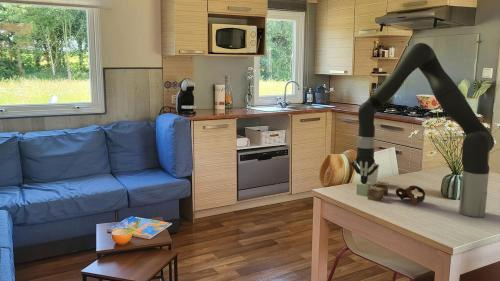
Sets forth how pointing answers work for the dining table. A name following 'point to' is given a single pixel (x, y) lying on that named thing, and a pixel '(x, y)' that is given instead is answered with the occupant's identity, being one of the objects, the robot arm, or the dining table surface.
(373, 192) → the walnut block two
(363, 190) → the plain block
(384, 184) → the walnut block one
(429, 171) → the dining table surface
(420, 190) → the brown looped ring sculpture
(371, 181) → the white cup
